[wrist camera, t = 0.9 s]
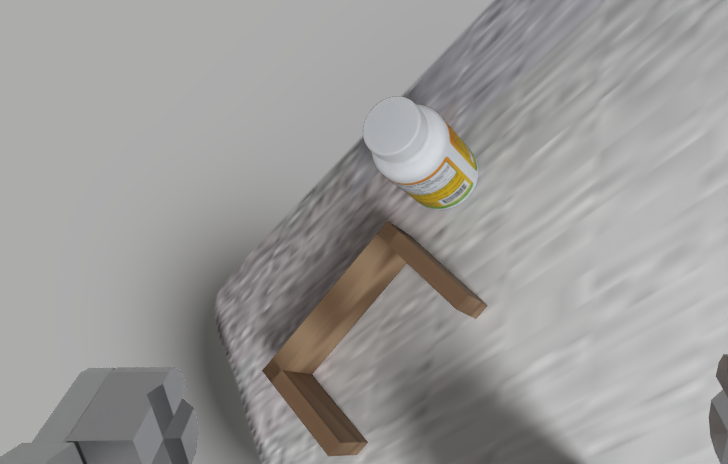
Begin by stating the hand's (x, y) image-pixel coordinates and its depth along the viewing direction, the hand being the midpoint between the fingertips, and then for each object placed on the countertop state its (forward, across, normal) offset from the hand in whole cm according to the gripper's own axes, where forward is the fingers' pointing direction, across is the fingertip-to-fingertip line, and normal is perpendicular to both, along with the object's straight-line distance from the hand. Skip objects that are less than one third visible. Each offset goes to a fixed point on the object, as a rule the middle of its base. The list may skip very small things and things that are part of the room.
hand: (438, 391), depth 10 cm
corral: (+30, +5, +23) cm, 38 cm away
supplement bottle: (+38, 0, +14) cm, 40 cm away
